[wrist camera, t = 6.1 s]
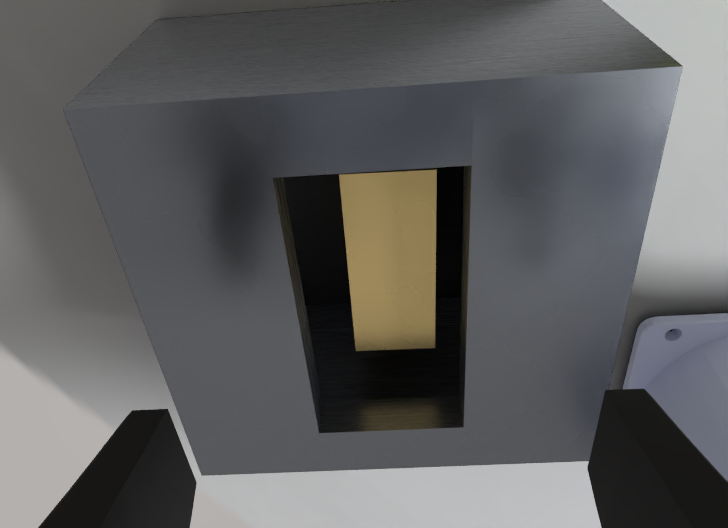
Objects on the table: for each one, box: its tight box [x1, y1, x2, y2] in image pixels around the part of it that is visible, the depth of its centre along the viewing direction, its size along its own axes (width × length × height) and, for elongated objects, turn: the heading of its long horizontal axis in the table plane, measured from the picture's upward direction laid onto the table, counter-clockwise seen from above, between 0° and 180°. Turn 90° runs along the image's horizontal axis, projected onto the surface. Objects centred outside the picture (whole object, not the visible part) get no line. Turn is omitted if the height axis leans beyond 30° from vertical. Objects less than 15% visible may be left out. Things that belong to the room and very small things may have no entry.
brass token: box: [339, 168, 437, 351], centre depth 16 cm, size 2×5×4 cm, turn 4°
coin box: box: [63, 0, 683, 475], centre depth 15 cm, size 10×10×6 cm
